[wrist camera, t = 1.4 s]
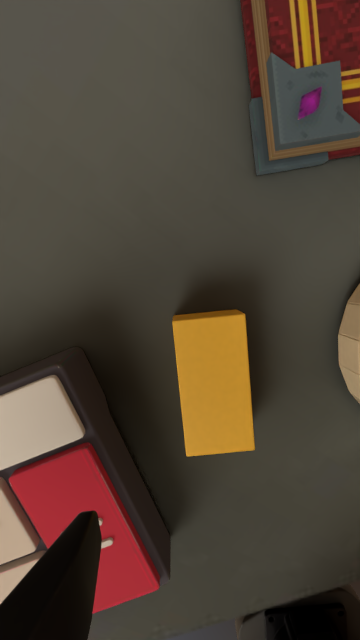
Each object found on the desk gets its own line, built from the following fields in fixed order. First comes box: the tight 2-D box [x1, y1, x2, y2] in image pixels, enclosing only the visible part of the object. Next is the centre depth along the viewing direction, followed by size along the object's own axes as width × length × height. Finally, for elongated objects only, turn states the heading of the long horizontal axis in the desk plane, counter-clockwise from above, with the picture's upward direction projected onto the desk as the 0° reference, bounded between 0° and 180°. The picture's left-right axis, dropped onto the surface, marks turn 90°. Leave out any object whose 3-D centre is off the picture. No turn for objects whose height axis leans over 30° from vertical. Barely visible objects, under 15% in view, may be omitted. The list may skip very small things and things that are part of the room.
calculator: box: [0, 347, 170, 614], centre depth 19 cm, size 11×4×15 cm
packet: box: [172, 309, 255, 456], centre depth 18 cm, size 8×4×2 cm, turn 6°
